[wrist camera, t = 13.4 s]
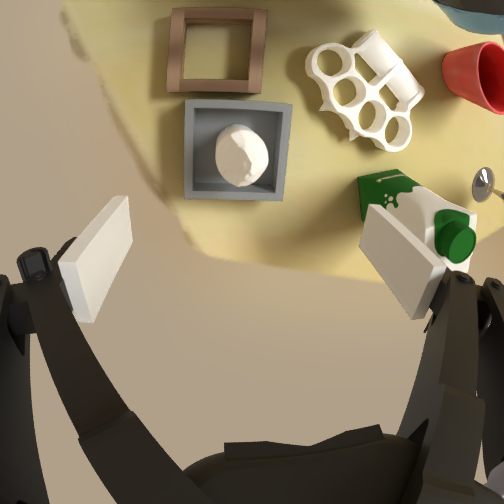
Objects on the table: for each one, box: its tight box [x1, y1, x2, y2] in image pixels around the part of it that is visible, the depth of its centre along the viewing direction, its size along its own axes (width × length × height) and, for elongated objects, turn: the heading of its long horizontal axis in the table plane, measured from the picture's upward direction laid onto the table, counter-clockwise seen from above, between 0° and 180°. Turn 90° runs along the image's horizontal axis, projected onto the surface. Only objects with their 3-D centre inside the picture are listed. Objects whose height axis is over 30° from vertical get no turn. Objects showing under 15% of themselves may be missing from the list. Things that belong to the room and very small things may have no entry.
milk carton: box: [358, 169, 477, 273], centre depth 33 cm, size 9×9×20 cm
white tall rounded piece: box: [215, 124, 268, 187], centre depth 31 cm, size 6×12×6 cm
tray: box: [184, 99, 292, 202], centre depth 35 cm, size 12×12×4 cm
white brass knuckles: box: [305, 29, 425, 153], centre depth 33 cm, size 3×18×15 cm
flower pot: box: [442, 42, 504, 115], centre depth 28 cm, size 11×11×10 cm
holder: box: [166, 7, 267, 94], centre depth 29 cm, size 11×11×3 cm
